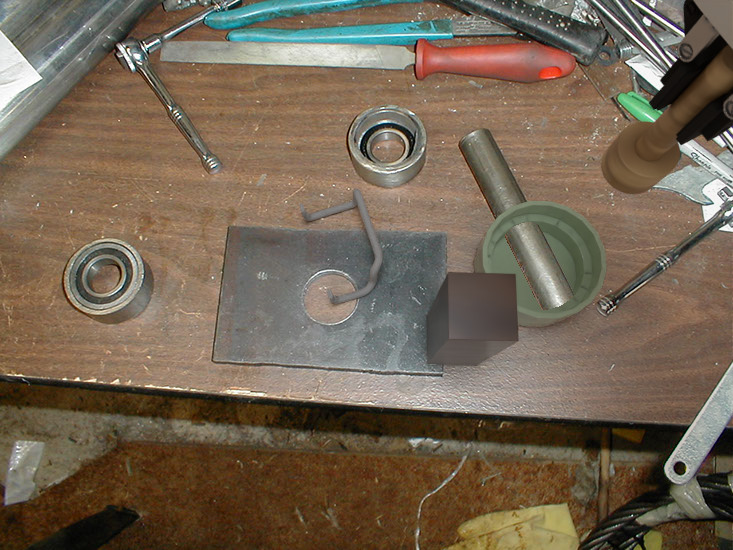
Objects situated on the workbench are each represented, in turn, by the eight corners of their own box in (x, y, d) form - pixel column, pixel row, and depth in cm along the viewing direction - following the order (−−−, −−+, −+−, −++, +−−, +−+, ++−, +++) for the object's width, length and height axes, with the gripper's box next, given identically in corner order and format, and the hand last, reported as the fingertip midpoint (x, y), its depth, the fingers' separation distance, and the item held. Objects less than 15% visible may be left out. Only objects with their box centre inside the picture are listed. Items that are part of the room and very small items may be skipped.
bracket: (303, 217, 72) (296, 202, 67) (361, 197, 72) (357, 181, 67) (333, 308, 69) (327, 299, 64) (392, 287, 69) (391, 277, 64)
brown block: (476, 366, 66) (518, 341, 47) (426, 364, 66) (448, 339, 47) (475, 317, 68) (515, 273, 49) (426, 315, 68) (447, 271, 49)
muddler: (662, 195, 41) (789, 95, 29) (602, 193, 41) (704, 93, 29) (656, 142, 42) (776, 23, 30) (598, 140, 42) (693, 21, 30)
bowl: (591, 329, 67) (611, 320, 62) (474, 325, 68) (484, 316, 62) (582, 220, 71) (601, 202, 65) (472, 217, 71) (481, 199, 66)
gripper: (1323, -76, 15) (813, 191, 33) (920, -397, 19) (656, -2, 37) (1130, 34, 15) (713, 248, 32) (747, -325, 18) (562, 44, 36)
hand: (684, 113), depth 34 cm, fingers closed on muddler, 2 cm apart
